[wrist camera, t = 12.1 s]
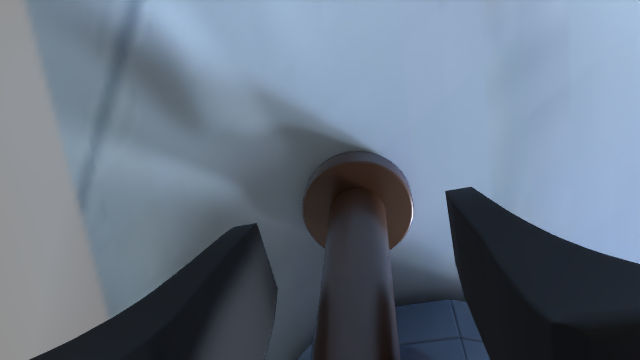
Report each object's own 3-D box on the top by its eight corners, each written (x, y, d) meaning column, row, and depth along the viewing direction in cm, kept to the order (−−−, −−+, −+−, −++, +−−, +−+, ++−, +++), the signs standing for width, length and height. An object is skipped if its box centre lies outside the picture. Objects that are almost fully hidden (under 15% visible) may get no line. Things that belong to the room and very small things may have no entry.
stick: (420, 157, 14) (507, 447, 6) (401, 251, 15) (450, 597, 7) (309, 144, 14) (236, 410, 6) (300, 239, 16) (231, 566, 7)
